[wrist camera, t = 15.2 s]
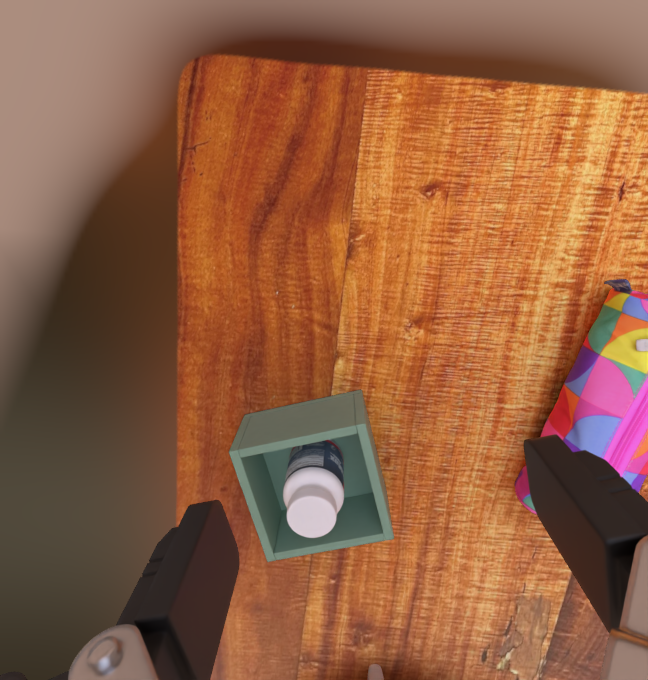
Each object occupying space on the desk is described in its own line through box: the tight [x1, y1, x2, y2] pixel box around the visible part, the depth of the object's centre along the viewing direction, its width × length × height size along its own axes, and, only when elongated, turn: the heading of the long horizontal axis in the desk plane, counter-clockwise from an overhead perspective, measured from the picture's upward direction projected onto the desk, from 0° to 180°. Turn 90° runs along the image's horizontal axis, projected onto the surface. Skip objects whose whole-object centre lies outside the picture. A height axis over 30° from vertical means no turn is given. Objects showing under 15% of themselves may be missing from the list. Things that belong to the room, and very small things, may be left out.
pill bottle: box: [283, 439, 344, 538], centre depth 41 cm, size 5×5×9 cm
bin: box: [229, 390, 394, 562], centre depth 43 cm, size 12×12×7 cm
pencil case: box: [515, 279, 648, 515], centre depth 39 cm, size 22×9×9 cm, turn 165°
